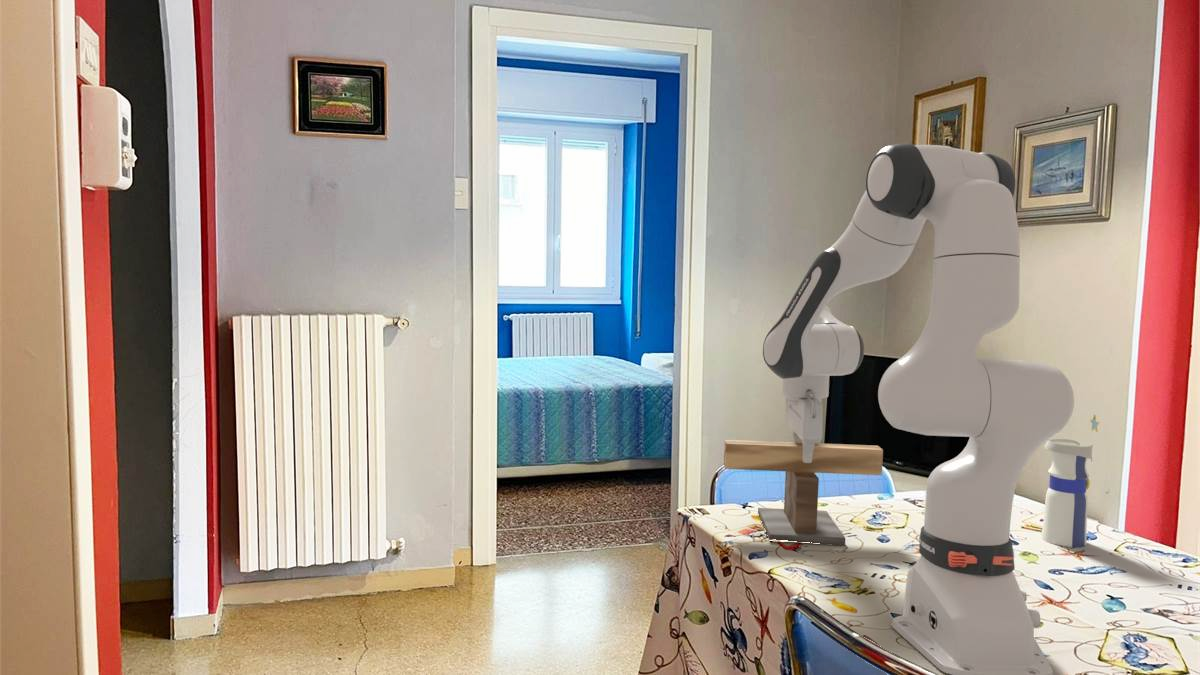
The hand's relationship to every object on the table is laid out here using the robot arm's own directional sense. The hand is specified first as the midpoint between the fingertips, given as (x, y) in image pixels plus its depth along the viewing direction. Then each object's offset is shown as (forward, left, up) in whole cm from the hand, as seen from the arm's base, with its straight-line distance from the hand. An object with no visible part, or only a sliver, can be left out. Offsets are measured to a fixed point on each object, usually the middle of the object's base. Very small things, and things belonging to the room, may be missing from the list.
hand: (802, 456), depth 165 cm
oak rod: (0, 0, -3) cm, 3 cm away
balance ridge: (0, 0, -15) cm, 15 cm away
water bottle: (+1, -51, -15) cm, 53 cm away
